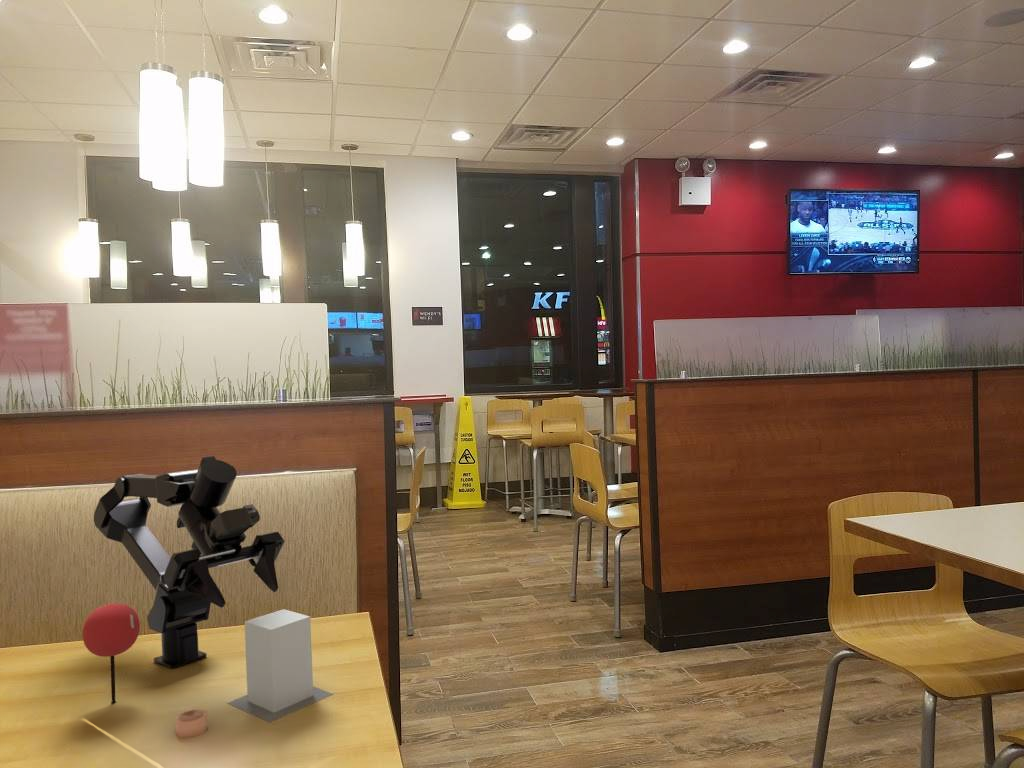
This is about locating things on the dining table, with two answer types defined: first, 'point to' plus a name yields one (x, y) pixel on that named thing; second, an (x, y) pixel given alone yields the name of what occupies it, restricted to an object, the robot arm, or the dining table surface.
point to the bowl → (191, 723)
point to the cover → (278, 659)
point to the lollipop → (111, 633)
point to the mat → (271, 716)
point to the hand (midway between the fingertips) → (250, 597)
